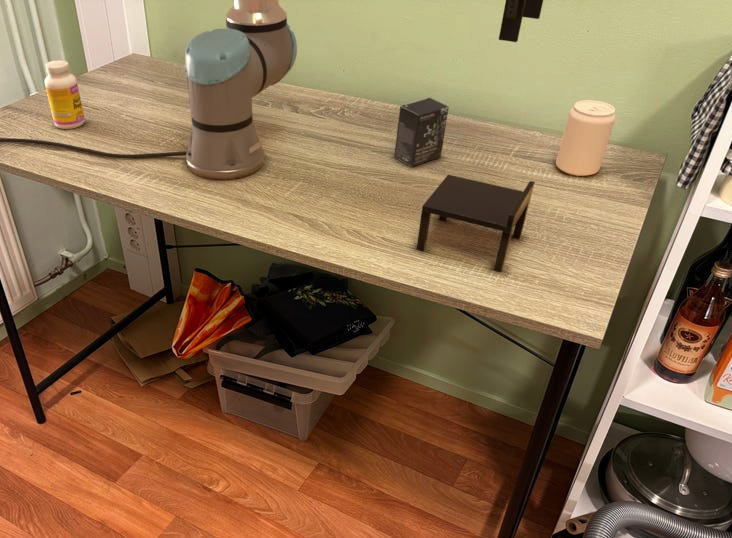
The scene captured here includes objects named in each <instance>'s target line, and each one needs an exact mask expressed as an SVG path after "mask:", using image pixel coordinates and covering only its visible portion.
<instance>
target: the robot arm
mask: <svg viewBox="0 0 732 538" xmlns="http://www.w3.org/2000/svg"><path fill="white" fill-rule="evenodd" d="M504 3H505V4H504V9H503V14H502V19H501V25H500V31H499V35H498V40H499V41H504V42H512V43H517V42H518V40H519V36H520V31H521V27H522V20H523V18H528V19H535V20H539V19H540V17H541V13H542V8H543V4H544V0H505V2H504ZM184 51H185V53H184V55H185V63H184V69H185V75H186V81H187V90H188V91H187V92H188V98H189V99H188V100H189V108H190V117H191V131H190V135H189V139H188V144H187V148H186V149H187V150H186V151H169V152H155V153H154V152H153V153H151V152H150V153H133V154H127V153H125V154H124V153H113V152H105V151H100V150H95V149H91V148H86V147H83V146H82V147H81V146H76V145H73V144H67V143H61V142H55V141H50V140H41V139H33V138H31V139H30V138H15V137H14V138H13V137H9V138H8V137H2V138H1V137H0V143H21V144H35V145H42V146H43V145H45V146H50V147H51V146H52V147H57V148H63V149H68V150H72V151H77V152H83V153H87V154H92V155H96V156H101V157H106V158H114V159H150V158H151V159H152V158H166V157H180V156H181V157H183V156H185V157H186V158H185V159H186V166H187V168H188V170H189V171H190V172H191V173H193V174H194V175H196V176H199V177H201V178H205V179H209V180H210V179H211V180H233V179H234V180H235V179H241V178H243V177H247V176H250V175H252V174H255V173H256V172H257V171H259V170H260V169H261V168H262V167H263V166H264V162H265V161H264V150H263V147H262V141H261V140H259V137H258V133H257V131H256V128H255V126H254V117H253V98H254V97H255V96H257V95H258V94H260V93H262V91H264V90H266V89H268V88H269V87H272V86H274V85H275V84H277V83H279V82H280V81H282V79H284V78H285V77H286V75H288V74H289V73H290V72H291V70H292V68H293V66H294V65H295V63H296V59H297V53H298V43H297V38H296V34H295V33H294V31H293V30H291V25H289V23H288V16H287V12H286V10H284V8H283V7H282V6H281V5H280V2H279V0H232V6H231V7H230V8H229V10H228V11H227V12H226V13H225V28H216V29H212V30H211V31H209V30H206V31H204V32H201V33H199V34H197V35H195V36H193V37H192V38H191V39H190V40H189V42H188V43H187V45H186V46H185V50H184Z"/></svg>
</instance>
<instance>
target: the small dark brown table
mask: <svg viewBox="0 0 732 538" xmlns="http://www.w3.org/2000/svg"><path fill="white" fill-rule="evenodd" d="M534 187H535V181H533V180H530V181H528V183H527V185H526V187H525V188H524V190H523V191H522V190H519V189H514V188H511V187H505V186H501V185H495V184H492V183H487V182H483V181H479V180H473V179H470V178H465V177H461V176H456V175H452V174H447V175H446V176H445V177H444V179H443V180H442V181H441V182H440V184H439V185H438V186H437V187H436V189H434V191H433V192H432V194H430V196H429V197H428V199H426V201H425V202H424V204H423V205H422V207H421V215H420V222H419V229H418V236H417V243H416V250H418V251H421V252H424V251H425V250H426V248H427V243H428V238H429V237H428V236H429V235H428V234H429V228H430V222H431V215H436V216H439V217H438V221H442V222H446V221H447V220H448V219H451V220H456V221H459V222H465V223H468V224H472V225H475V226H481V227H484V228H489V229H493V230H495V231H500V232H501V236H500V240H499V245H498V249H497V253H496V258H495V262H494V266H493V271H495V272H499V273H502V271H503V269H504V267H505V263H506V258H507V255H508V250H509V246H510V242H511V238H512V239H515V240H521V237H522V234H523V230H524V226H525V223H526V218H527V215H528V210H529V207H530V203H531V198H532V194H533V190H534Z"/></svg>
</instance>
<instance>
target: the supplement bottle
mask: <svg viewBox="0 0 732 538" xmlns="http://www.w3.org/2000/svg"><path fill="white" fill-rule="evenodd" d="M45 71H46V72H47V74H48V75H47V76H46V77H45V79H44V86H45V90H46V91H45V92H46V95H47V100H48V103H49V107H50V108H49V109H50V112H51V117H52V119H53V120H52V121H53V124H54V125H55V127H56V128H59V129H62V130H70V129H76V128H79V127H81V126H82V125H84V124H85V121H86V120H85V119H86V118H85V114H84V109H83V104H82V100H81V95H80V89H79V85H78V81H77V78H76V77H75V75H74V74H72V73H70V66H69V62H68V61H66V60H59V59H58V60H51V61H48V62H47V63H45Z"/></svg>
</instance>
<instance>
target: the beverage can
mask: <svg viewBox="0 0 732 538" xmlns="http://www.w3.org/2000/svg"><path fill="white" fill-rule="evenodd" d="M615 112H616V108H615V107H614V105H612V104H610V103H608V102H606V101H602V100H601V101H600V100H595V99H594V100H593V99H585V100H579V101H577V102H575V103H574V105H573V107H572V108H571V109H569V112H568V116H567V120H566V123H565V127H564V131H563V134H562V138H561V141H560V146H559V148H558V153H557V157H556V161H555V165H556V167H557V168H558V169H559V170H561V171H562V172H564V173H566V174H568V175H571V176H578V177H585V176H591V175H594V174H597V173H599V171H600V169H601V166H602V163H603V159H604V157H605V153H606V150H607V148H608V144H609V140H610V137H611V134H612V131H613V129H614V125H615V122H616V117H617V115H616V113H615Z"/></svg>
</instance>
